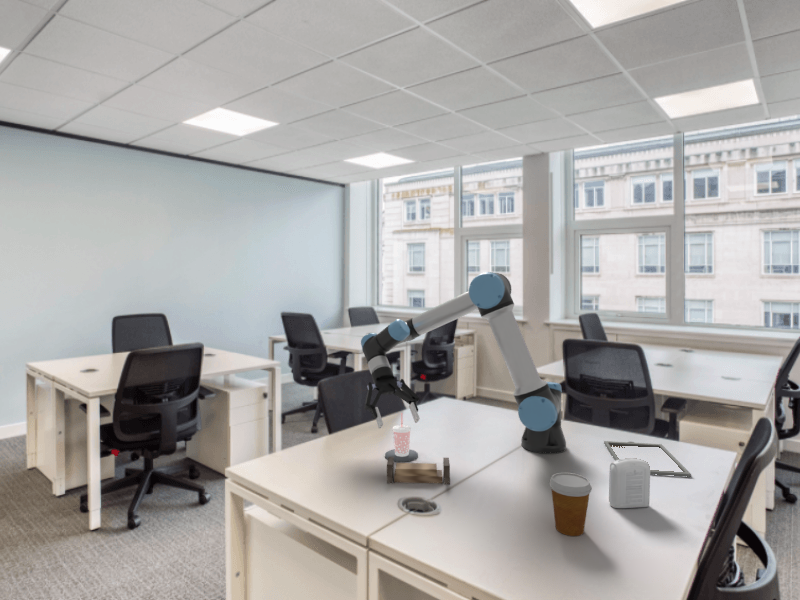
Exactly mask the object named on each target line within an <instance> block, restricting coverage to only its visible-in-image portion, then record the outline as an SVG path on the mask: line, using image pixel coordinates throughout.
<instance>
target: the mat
mask: <svg viewBox="0 0 800 600" xmlns="http://www.w3.org/2000/svg"><path fill="white" fill-rule="evenodd" d="M384 457H385V459H386V458H387V460H388V457H394V463H395V462H396V463H410V462H412V461H414V460H415V461H416V459H418V458H419V454H418V452H417V451H415V450H413V449H410V448H409V455H408V456H404V457H400V456H396V455H395V448H393V449H389V450H387V451H386V452H385V453H384Z"/></svg>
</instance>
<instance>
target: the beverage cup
mask: <svg viewBox="0 0 800 600" xmlns="http://www.w3.org/2000/svg"><path fill="white" fill-rule="evenodd" d="M403 414H404V413H403V412H401V413H400V424H397V425H394V426H392V431H393V443H394V449H395V455H396V456H400V457H404V456H408V455H409V449H410V443H411V442H410V441H411V431H412V427H411V426H410V425H408V424H407V425H405V424H403V421H404V420H403Z"/></svg>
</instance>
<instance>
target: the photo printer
mask: <svg viewBox="0 0 800 600" xmlns="http://www.w3.org/2000/svg"><path fill="white" fill-rule="evenodd" d="M608 476H609V480H608V481H609V484H608V502H609V505H610V506H611V507H612V508H615V509H630V508H631V509H632V508H633V509H634V508H647V507H649V506H650V495H651V493H650V492H651V491H650V490H651V489H650V488H651V485H650V484H651V475H650V466H649V464H648V462H646V461H644V460H641V459H637V458H625V459H619V460H616V461H615V460H614V461H612V462H611V463H610V465H609V475H608Z"/></svg>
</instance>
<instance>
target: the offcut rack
mask: <svg viewBox="0 0 800 600" xmlns="http://www.w3.org/2000/svg"><path fill="white" fill-rule="evenodd" d="M442 459H443V461H442V462H443V463H442V464H443V465H442V466H443V469H438V467H437V463H426V462H425V463H423V462H422V463H421V462H420V463H418V462H415V463H414V462H396V465H395V462H394V457H388V459H387V461H386V484H393V483H403V484H404V483H406V484H408V483H409V484H411V483H413V484H414V483H415V484H444V485H451V479H450V478H451V462H450V459H449V457H442ZM394 467H395V468H394Z"/></svg>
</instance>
